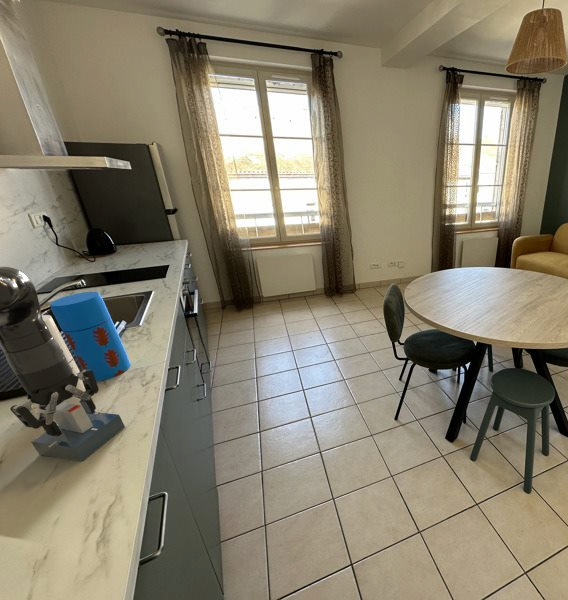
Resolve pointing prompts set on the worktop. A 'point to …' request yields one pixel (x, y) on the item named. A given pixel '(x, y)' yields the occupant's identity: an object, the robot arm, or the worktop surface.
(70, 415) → the tap handle
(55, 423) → the robot arm
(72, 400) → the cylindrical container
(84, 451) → the block
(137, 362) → the worktop surface
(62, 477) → the worktop surface
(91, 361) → the thermos
